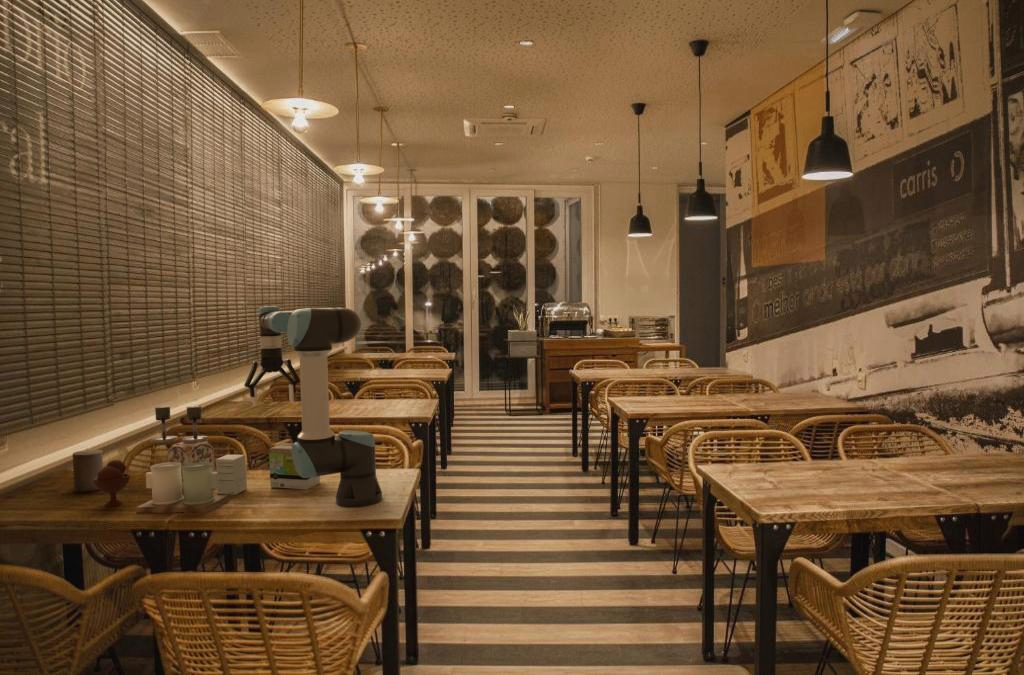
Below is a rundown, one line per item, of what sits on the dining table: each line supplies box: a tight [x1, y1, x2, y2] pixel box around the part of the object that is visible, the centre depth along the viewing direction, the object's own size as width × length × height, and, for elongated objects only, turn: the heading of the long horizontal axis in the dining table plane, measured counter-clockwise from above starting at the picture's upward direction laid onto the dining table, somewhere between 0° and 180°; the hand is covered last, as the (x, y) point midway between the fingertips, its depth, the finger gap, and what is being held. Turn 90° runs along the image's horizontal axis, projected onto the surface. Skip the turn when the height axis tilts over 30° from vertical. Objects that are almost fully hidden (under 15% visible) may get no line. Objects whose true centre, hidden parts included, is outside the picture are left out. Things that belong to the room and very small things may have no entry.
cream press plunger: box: [150, 405, 179, 444], centre depth 242 cm, size 8×8×11 cm
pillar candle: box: [72, 449, 104, 493], centre depth 269 cm, size 10×10×15 cm
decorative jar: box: [167, 435, 216, 490], centre depth 270 cm, size 12×12×18 cm
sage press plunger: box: [181, 405, 210, 443], centre depth 240 cm, size 8×8×11 cm
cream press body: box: [145, 461, 184, 505], centre depth 243 cm, size 12×10×12 cm
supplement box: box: [215, 454, 248, 496], centre depth 259 cm, size 7×7×13 cm
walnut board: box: [136, 494, 229, 514], centre depth 243 cm, size 24×14×2 cm, turn 84°
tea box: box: [268, 442, 321, 491], centre depth 266 cm, size 15×10×15 cm, turn 76°
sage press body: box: [181, 462, 219, 505], centre depth 241 cm, size 12×10×12 cm
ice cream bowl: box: [93, 459, 131, 508], centre depth 247 cm, size 11×11×15 cm
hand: (273, 403), depth 274 cm, fingers open, 13 cm apart
